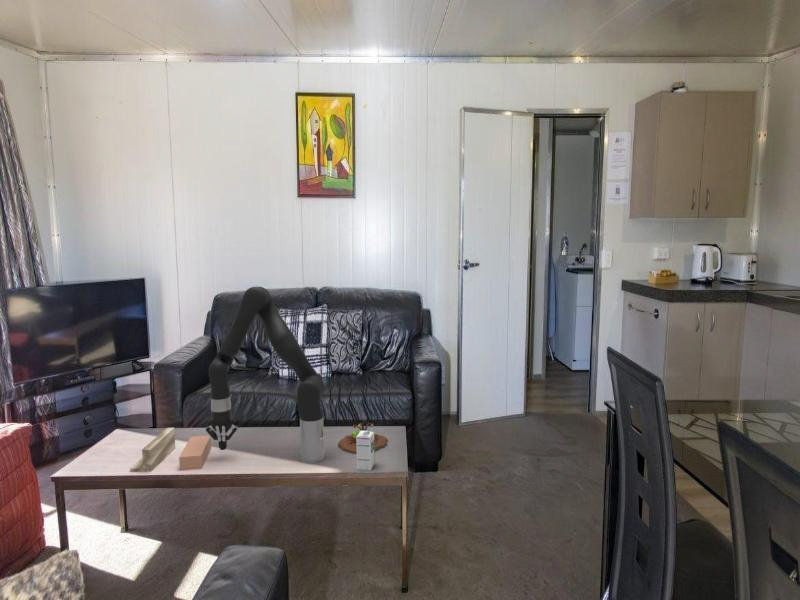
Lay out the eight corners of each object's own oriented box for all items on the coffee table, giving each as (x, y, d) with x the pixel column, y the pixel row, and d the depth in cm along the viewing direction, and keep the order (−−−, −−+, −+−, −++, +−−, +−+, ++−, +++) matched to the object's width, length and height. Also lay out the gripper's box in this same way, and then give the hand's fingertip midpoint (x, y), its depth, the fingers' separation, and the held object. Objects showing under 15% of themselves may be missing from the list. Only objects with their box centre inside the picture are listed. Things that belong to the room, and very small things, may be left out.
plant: (329, 450, 216) (329, 425, 214) (355, 434, 233) (355, 410, 231) (370, 460, 206) (369, 434, 205) (393, 443, 223) (393, 418, 222)
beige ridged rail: (175, 448, 217) (174, 427, 216) (151, 472, 195) (149, 449, 194) (156, 448, 217) (155, 427, 216) (130, 472, 195) (128, 449, 194)
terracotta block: (211, 448, 217) (210, 435, 216) (201, 470, 197) (201, 455, 196) (191, 450, 215) (190, 436, 215) (180, 472, 196) (179, 457, 195)
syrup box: (371, 473, 194) (371, 436, 192) (356, 471, 195) (356, 435, 194) (375, 466, 200) (374, 431, 198) (360, 465, 201) (360, 429, 199)
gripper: (240, 404, 208) (242, 445, 210) (207, 405, 207) (209, 445, 210) (234, 411, 200) (236, 453, 202) (201, 411, 200) (203, 453, 202)
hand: (223, 449), depth 206 cm, fingers closed
